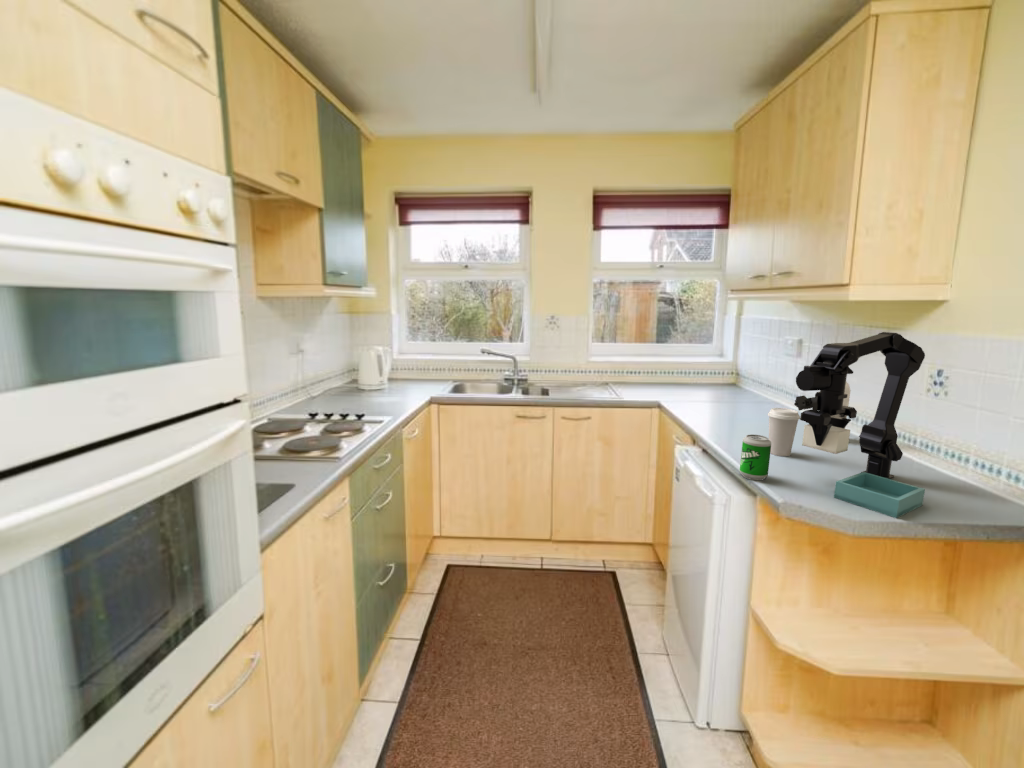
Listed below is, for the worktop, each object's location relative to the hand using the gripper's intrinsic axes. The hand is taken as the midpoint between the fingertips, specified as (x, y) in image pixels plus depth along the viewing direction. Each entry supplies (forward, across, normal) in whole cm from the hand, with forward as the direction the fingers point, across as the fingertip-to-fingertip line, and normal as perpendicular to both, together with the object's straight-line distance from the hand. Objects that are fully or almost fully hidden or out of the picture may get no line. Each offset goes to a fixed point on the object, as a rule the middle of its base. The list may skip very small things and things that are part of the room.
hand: (825, 443), depth 138 cm
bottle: (+12, -50, -21) cm, 56 cm away
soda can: (+12, +13, -12) cm, 21 cm away
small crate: (+1, 0, 0) cm, 1 cm away
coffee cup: (+12, -16, -21) cm, 29 cm away
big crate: (+11, +1, +15) cm, 19 cm away
